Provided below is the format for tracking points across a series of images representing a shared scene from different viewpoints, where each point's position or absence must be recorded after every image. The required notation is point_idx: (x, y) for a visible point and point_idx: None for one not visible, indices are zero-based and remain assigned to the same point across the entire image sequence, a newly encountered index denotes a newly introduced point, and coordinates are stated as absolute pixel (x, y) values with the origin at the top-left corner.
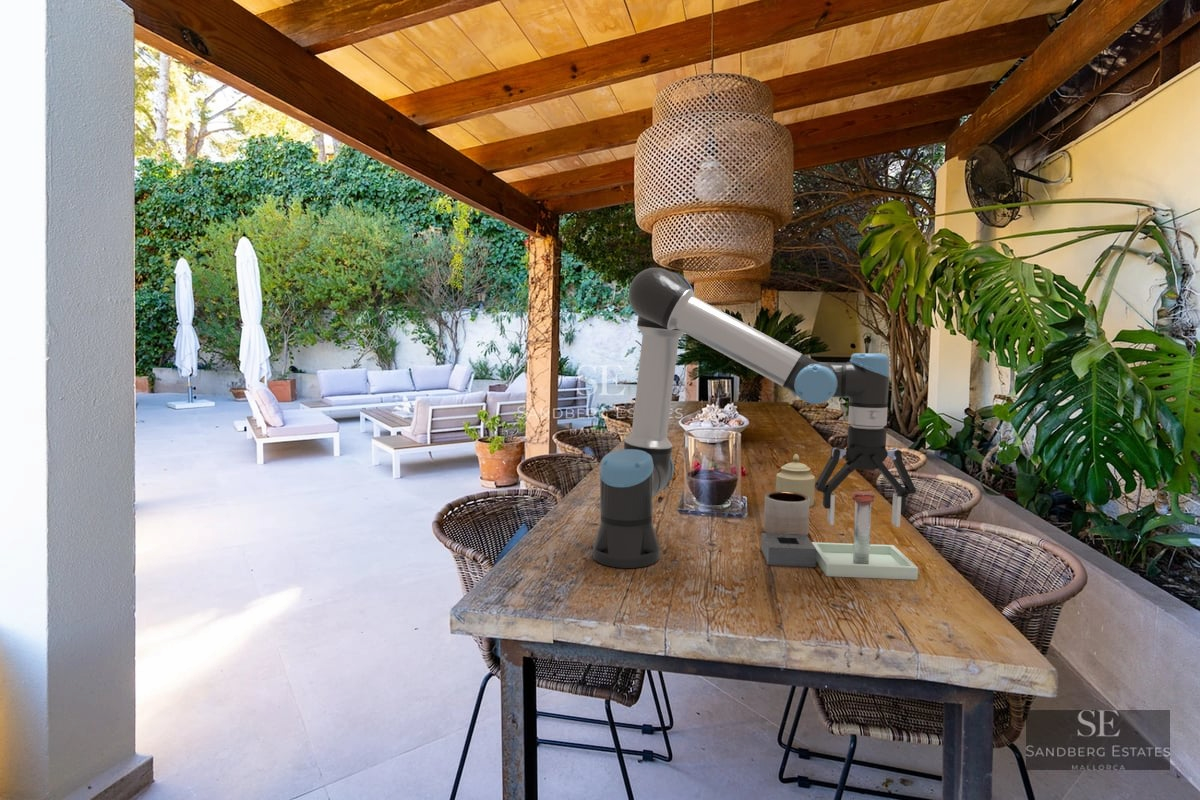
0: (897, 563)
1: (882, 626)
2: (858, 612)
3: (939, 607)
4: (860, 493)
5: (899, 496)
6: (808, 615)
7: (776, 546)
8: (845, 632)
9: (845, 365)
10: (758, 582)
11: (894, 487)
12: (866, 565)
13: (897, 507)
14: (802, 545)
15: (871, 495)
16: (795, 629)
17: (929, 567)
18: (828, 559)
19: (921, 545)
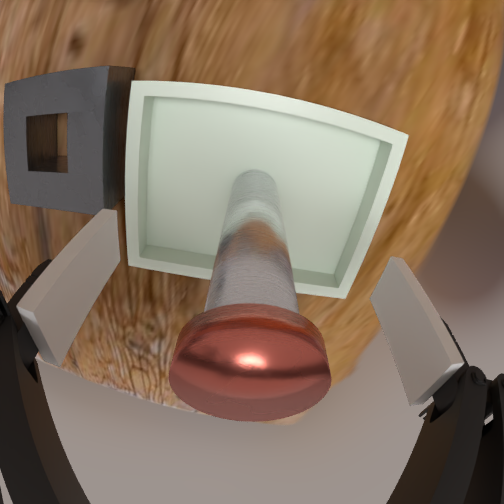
0: (356, 205)
1: None
2: (161, 362)
3: None
4: (232, 381)
5: (425, 398)
6: (99, 355)
7: (22, 197)
8: (136, 384)
9: None
10: (32, 264)
11: (428, 435)
12: None
13: (395, 362)
14: (73, 185)
15: (282, 412)
16: (89, 370)
17: (418, 219)
18: (167, 160)
19: (492, 87)
